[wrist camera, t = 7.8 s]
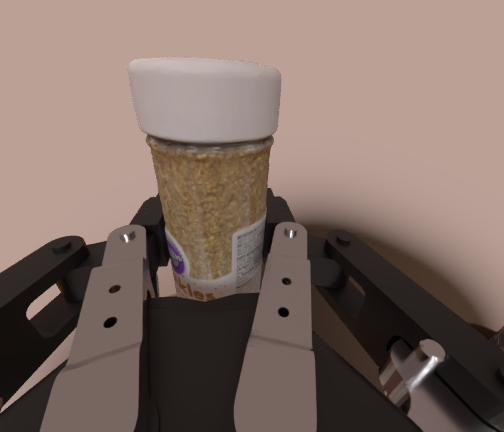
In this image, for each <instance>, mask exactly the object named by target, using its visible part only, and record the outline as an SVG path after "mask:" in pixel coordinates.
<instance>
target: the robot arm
mask: <svg viewBox="0 0 504 432" xmlns="http://www.w3.org/2000/svg"><path fill="white" fill-rule="evenodd" d="M266 207H267V209H266V222H265V232H264V244H263V261H264V263H266V267H265V272H264V277H263V281H262V285H261V290H260V292H258V293H238V294H233V295H229V296H225V297H221V298H218V299H214V300H210V301H199V300H194V299H188V298H182V297H159V285H158V275H157V270H158V267H159V266H160V267H161V266H167V265H168V262H169V259H170V254H169V249H168V244H167V239H166V233H165V225H166V223H165V220H164V215H163V210H162V203H161V199H160V195H159V193H158V195H157V196H156V197H151V198H149V199H148V200H146V201H145V202H144V203H143V204H142V206H141V208H140V209H139V210H138V213H137V214H136V215H135V216H134V218H133V219H132V221H131V223H130V224H129V225H126V226H123V227H120V228H117V229H115V230H114V231H112V232H111V233H110V234H109V236H108V239H107V241H104V242H100V243H95V244H90V245H86V243H85V241H84V239H83V238H82V237H79V236H66V237H61V238H58V239H55V240H53V241H51V242H49V243H47V244H45V245H44V246H42V247H41V248H39V249H38V250H36V251H34V252H33V253H31V254H30V255H28V256H27V257H25V258H23V259H22V260H20V261H19V262H17V263H16V264H14V265H12V266H11V267H9V268H8V269H6V270H5V271H3V272H1V273H0V411H1V408H2V407H3V406H4V405H5V403H6V402H7V401H8V400H9V399H10V398H11V397H12V396H13V395H14V394H15V393H16V391H18V390H19V388H20V387H21V386H22V385H23V384H24V383H25V382H26V381H27V380H28V379H29V378H30V377H31V375H32V374H33V373H34V372H35V371H36V370H37V369H38V368H39V367H40V366H41V365H42V364H43V362H44V361H45V360H46V359H47V358H48V357H49V356H50V355H51V354H52V353H53V352H54V351H55V350H56V348H57V347H58V346H59V345H60V344H61V343H62V342H63V341H64V340H65V339H66V337H68V335H69V334H70V333H71V332H72V331H73V330H74V329H75V328H76V327H77V328H76V332H75V336H74V340H73V344H72V348H71V351H70V355H69V358H68V359H67V360H65V361H64V362H63V363H62V364H61V365H59V366H58V367H57V368H56V369H54V370H53V371H52V372H51V373H49V374H48V375H47V376H46V377H44V378H43V379H42V380H41V381H40V382H38V383H37V384H36V385H35V386H33V387H32V388H31V389H30V390H28V391H27V392H26V393H25V394H24V395H22V396H21V397H20V398H19V399H17V400H16V401H15V402H14V403H12V404H11V405H10V406H9V407H8V408H6V409H5V410H4V411H3V412H2V413H0V432H504V326H503V327H502V328H501V329H500V330H499V331H498V332H497V333H496V334H494V335H493V336H492V337H491V338H490V339H487V338H486V337H485V336H483V335H482V334H481V333H480V332H478V331H477V330H476V329H474V328H473V327H472V326H471V325H469V324H468V323H467V322H465V321H464V320H463V319H462V318H460V317H459V316H458V315H456V314H455V313H454V312H453V311H451V310H450V309H449V308H447V307H446V306H445V305H444V304H442V303H441V302H440V301H438V300H437V299H436V298H435V297H433V296H432V295H431V294H429V293H428V292H427V291H426V290H424V289H423V288H422V287H420V286H419V285H418V284H416V283H415V282H414V281H413V280H411V279H410V278H409V277H407V276H406V275H405V274H403V273H402V272H401V271H400V270H399V269H397V268H396V267H395V266H393V265H392V264H391V263H390V262H388V261H387V260H386V259H384V258H383V257H382V256H381V255H379V254H378V253H377V252H375V251H374V250H373V249H372V248H370V247H369V246H368V245H366V244H365V243H364V242H363V241H361V240H360V239H359V238H357V237H356V236H355V235H353V234H351V233H349V232H346V231H341V230H334V231H331V232H329V233H328V234H327V236H326V239H325V238H320V237H314V236H310V235H308V234H307V231H306V229H305V228H304V227H303V226H302V225H300V224H297V223H296V222H295V220H294V218H293V215H292V213H291V211H290V209H289V207H288V205H287V202H286V201H285V200H284V199H283V198H281V197H274V195H273V192H272V190H271V188H267V196H266ZM350 276H351V277H352V278H353V279H354V280H355V281H356V282H357V283H358V284H359V285H360V286H361V287H362V289H363V290H364V292H365V296H366V297H365V296H364V295H363V294H362V293H361V292H360V291H359V290H358V289H357V288H356V287H355V286H354V285H353V284H352V283H351V282H350V281H349V280H348V279H349V277H350ZM55 283H56V285H57V286H58V288H59V290H60V291H61V293H60V294H59V295H58V296H57V297H56V298H54V299H53V300H52V301H51V302H50V303H49V304H48V305H46V306H45V307H44V308H43V309H42V310H41V311H40V312H38V313H37V314H36V315H35V316H34V317H33V318H31V319H30V320H28V318H27V317H26V311H27V309H28V307H29V305H30V304H31V303H32V302H33V301H34V300H35V299H37V298H38V297H39V296H40V295H41V294H43V293H44V292H45V291H46V290H48V289H49V288H50V287H51V286H52V285H54V284H55ZM311 284H315V287H316V288H317V290H318V291H319V293H320V294H321V295H322V296H323V297H324V299H325V300H326V301H327V302H328V304H329V305H330V306H331V308H332V309H333V310H334V311H335V313H336V314H337V315H338V316H339V318H340V319H341V320H342V322H343V323H344V324H345V325H346V326H347V328H348V329H349V330H350V332H351V333H352V334H353V335H354V337H355V338H356V339H357V340H358V342H359V343H360V344H361V346H362V347H363V348H364V349H365V351H366V352H367V353H368V354H369V356H370V357H371V358H372V359H373V361H374V362H375V363H376V364H377V366H378V367H379V369H378V373H379V378H380V381H381V383H382V385H383V387H384V393H385V395H384V394H383V393H382V392H380V391H379V390H378V389H377V388H376V387H375V386H374V385H373V384H372V383H371V382H369V381H368V380H367V379H366V378H365V377H364V376H363V375H362V374H360V373H359V372H358V371H357V370H356V369H355V368H354V367H353V366H352V365H350V364H349V363H348V362H347V361H346V360H345V359H344V358H343V357H341V356H340V355H339V354H338V353H337V352H336V351H335V350H334V349H332V348H331V347H330V346H329V345H328V344H327V343H326V342H325V341H324V340H323V339H321V338H320V337H319V336H318V335H317V334H316V333H315V332H314V331H312V328H311Z"/></svg>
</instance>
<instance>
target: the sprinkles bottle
mask: <svg viewBox="0 0 504 432" xmlns="http://www.w3.org/2000/svg"><path fill="white" fill-rule="evenodd" d="M128 74H129V80H130V86H131V91H132V97H133V102H134V107H135V111H136V116H137V120H138V125H139V128H140V129H141V131H143V132H144V133H146V134H147V138H146V142H147V144H148V145H149V146H150V148H151V154H152V156H153V163H154V169H155V173H156V178H157V183H158V191H159V195H160V199H161V203H162V210H163V215H164V220H165V223H166V225H165V233H166V239H167V244H168V249H169V254H170V259H171V264H172V270H173V275H174V281H175V286H176V292H177V297H182V298H188V299H194V300H199V301H210V300H214V299H218V298H221V297H225V296H229V295H233V294H238V293H258V292H259V290H260V279H261V268H262V257H263V244H264V232H265V222H266V209H267V207H266V196H267V182H268V171H269V157H270V148H271V146H272V145H273V142H274V138H273V137H272V135H273V134H274V133H275V132H276V130H277V127H278V117H279V106H280V92H281V74H280V72H279V71H278V70H277V69H275V68H273V67H268V66H262V65H259V64H256V63H250V62H243V61H233V60H222V59H206V58H187V57H156V58H153V59H136V60H133V61H132V62H131V63H130V64H129V67H128Z"/></svg>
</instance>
